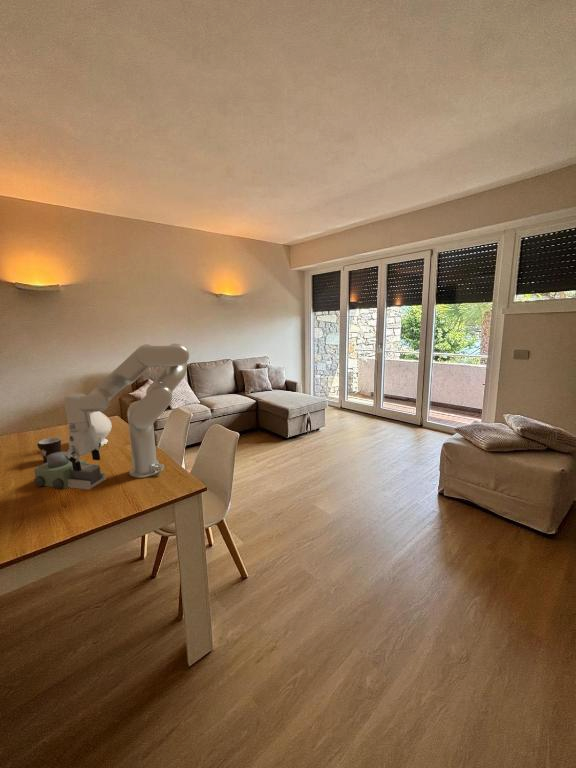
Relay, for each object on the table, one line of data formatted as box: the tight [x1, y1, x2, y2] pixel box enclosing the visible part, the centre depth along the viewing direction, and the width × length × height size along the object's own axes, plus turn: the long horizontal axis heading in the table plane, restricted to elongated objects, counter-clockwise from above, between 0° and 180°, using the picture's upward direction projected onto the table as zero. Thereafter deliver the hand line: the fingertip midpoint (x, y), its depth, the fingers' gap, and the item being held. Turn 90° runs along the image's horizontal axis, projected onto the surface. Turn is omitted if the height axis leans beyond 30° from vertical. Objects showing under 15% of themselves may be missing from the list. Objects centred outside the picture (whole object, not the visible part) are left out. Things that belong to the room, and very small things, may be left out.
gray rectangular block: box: [71, 463, 101, 485], centre depth 133 cm, size 9×5×6 cm, turn 78°
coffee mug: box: [37, 436, 62, 464], centre depth 155 cm, size 12×9×10 cm
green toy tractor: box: [33, 451, 107, 491], centre depth 134 cm, size 24×13×11 cm, turn 78°
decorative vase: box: [89, 411, 113, 447], centre depth 174 cm, size 18×18×25 cm
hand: (87, 465), depth 133 cm, fingers open, 9 cm apart
